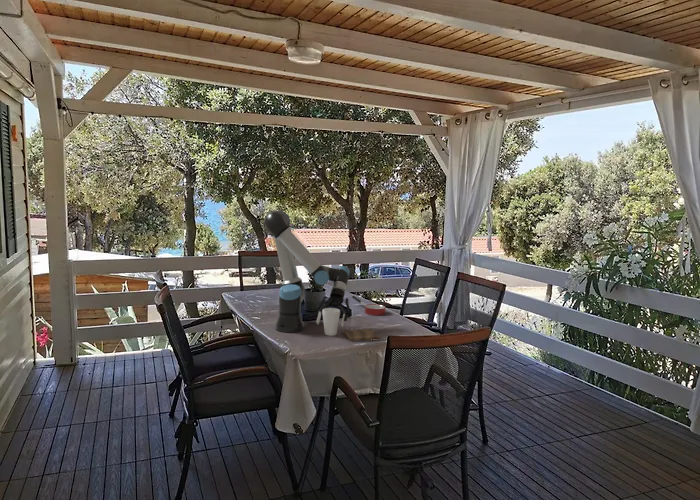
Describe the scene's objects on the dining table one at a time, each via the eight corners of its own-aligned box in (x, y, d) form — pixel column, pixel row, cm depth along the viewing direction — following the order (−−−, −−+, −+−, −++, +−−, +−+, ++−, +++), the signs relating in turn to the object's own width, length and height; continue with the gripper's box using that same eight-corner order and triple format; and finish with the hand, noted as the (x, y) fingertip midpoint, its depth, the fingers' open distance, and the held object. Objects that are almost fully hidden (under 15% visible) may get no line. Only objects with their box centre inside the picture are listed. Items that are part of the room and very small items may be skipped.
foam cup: (337, 337, 253) (337, 312, 252) (319, 335, 255) (320, 311, 254) (340, 332, 263) (341, 308, 261) (324, 330, 265) (325, 307, 263)
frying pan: (342, 306, 323) (342, 297, 323) (357, 304, 332) (357, 295, 331) (374, 316, 299) (374, 306, 298) (389, 314, 307) (390, 304, 306)
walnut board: (350, 341, 247) (350, 338, 247) (343, 333, 261) (343, 330, 261) (380, 339, 251) (380, 337, 251) (371, 331, 266) (371, 329, 266)
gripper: (361, 296, 269) (353, 330, 256) (318, 293, 275) (308, 325, 262) (359, 289, 263) (351, 323, 250) (315, 285, 269) (305, 318, 256)
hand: (329, 324), depth 256 cm, fingers open, 13 cm apart
